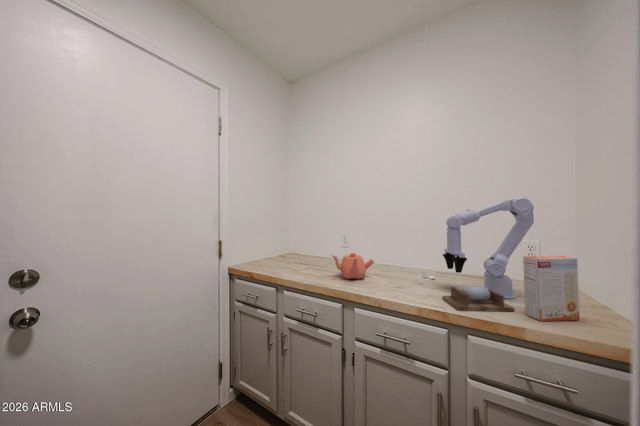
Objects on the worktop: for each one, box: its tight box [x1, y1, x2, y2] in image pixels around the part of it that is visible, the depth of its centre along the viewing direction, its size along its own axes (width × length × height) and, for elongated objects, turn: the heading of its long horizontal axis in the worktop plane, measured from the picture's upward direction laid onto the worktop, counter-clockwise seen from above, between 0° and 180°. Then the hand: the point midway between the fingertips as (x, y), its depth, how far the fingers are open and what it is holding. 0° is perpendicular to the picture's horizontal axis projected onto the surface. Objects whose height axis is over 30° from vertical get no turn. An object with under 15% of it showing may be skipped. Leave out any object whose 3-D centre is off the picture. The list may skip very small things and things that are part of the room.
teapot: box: [330, 252, 375, 280], centre depth 133 cm, size 18×18×14 cm
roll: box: [460, 286, 490, 300], centre depth 90 cm, size 8×5×5 cm, turn 87°
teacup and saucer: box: [417, 270, 436, 281], centre depth 131 cm, size 9×8×4 cm
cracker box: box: [522, 255, 581, 322], centre depth 79 cm, size 14×6×21 cm, turn 92°
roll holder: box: [441, 286, 515, 313], centre depth 90 cm, size 20×12×6 cm, turn 86°
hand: (454, 270), depth 108 cm, fingers open, 7 cm apart
